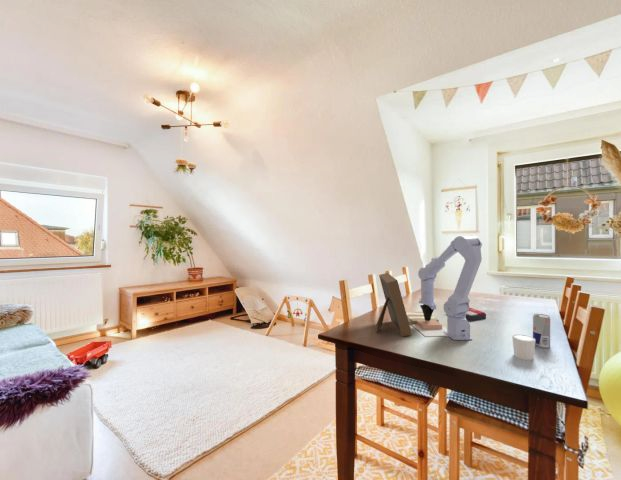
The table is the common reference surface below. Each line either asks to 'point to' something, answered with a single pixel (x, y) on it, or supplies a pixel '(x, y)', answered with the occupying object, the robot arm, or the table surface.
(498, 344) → the table surface
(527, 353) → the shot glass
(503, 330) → the table surface
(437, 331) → the mat
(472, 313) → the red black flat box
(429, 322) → the tile
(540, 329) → the energy drink
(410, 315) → the deck
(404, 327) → the photo frame
